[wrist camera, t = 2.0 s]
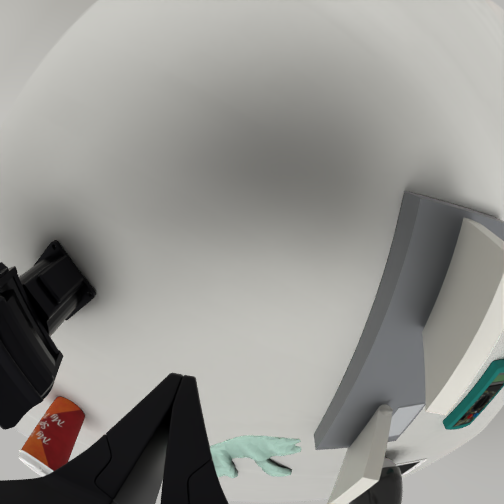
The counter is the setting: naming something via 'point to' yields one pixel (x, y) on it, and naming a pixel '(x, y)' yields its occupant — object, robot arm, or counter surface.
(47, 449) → the paper cup
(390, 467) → the black egg-shaped device
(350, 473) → the lever
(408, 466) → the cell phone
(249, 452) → the cloth
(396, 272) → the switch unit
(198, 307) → the counter surface
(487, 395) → the digital multimeter
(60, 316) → the robot arm
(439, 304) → the white square panel
